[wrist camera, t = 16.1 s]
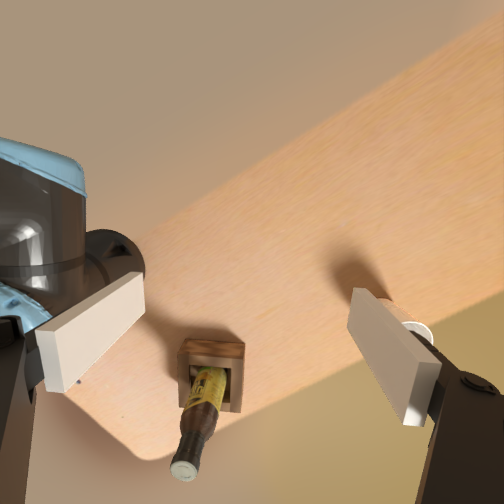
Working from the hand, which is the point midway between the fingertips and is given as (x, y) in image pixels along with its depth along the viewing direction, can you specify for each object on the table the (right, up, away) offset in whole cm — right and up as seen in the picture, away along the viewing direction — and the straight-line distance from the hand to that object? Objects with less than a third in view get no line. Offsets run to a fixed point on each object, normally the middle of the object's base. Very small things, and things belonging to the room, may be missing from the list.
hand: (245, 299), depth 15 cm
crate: (-8, -23, +39) cm, 46 cm away
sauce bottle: (-8, -23, +38) cm, 45 cm away
